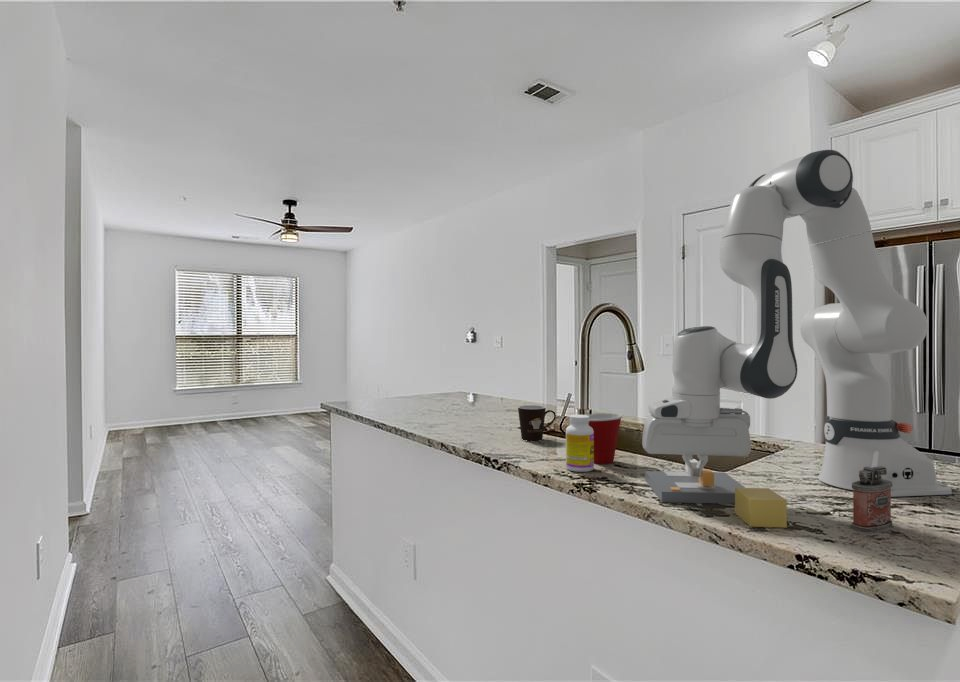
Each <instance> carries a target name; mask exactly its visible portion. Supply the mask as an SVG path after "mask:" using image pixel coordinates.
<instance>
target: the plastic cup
mask: <svg viewBox="0 0 960 682" xmlns="http://www.w3.org/2000/svg"><path fill="white" fill-rule="evenodd" d="M586 415H587V416H589V417H590V421H589V426H590V427H592V428H593V431H594V464H599V465H610V464H613V463H614V460H615V455H616V450H617V445H618V444H617V443H618V439H619V438H618V437H619V431H620V424H621V421H622V418H623V414H620V413H613V412H611V413H610V412H609V413H608V412H607V413H606V412H603V413H600V412H599V413H590V414H586Z"/></svg>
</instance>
